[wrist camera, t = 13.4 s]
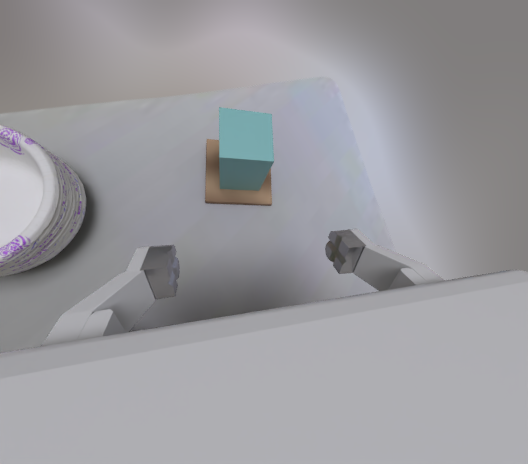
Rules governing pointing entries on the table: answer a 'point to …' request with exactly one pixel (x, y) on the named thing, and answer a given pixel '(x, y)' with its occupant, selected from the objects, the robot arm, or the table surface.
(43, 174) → the paper bowls
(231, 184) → the teal rectangular block
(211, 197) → the tan square base plate
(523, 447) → the robot arm
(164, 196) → the table surface
